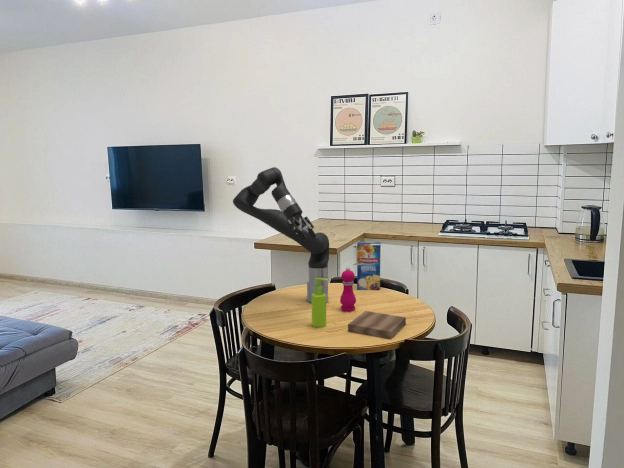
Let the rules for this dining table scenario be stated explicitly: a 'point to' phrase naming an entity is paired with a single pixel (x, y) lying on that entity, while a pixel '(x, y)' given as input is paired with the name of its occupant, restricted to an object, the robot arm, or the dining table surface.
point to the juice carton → (368, 265)
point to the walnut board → (377, 324)
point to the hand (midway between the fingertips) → (309, 238)
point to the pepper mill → (348, 291)
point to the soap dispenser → (319, 305)
